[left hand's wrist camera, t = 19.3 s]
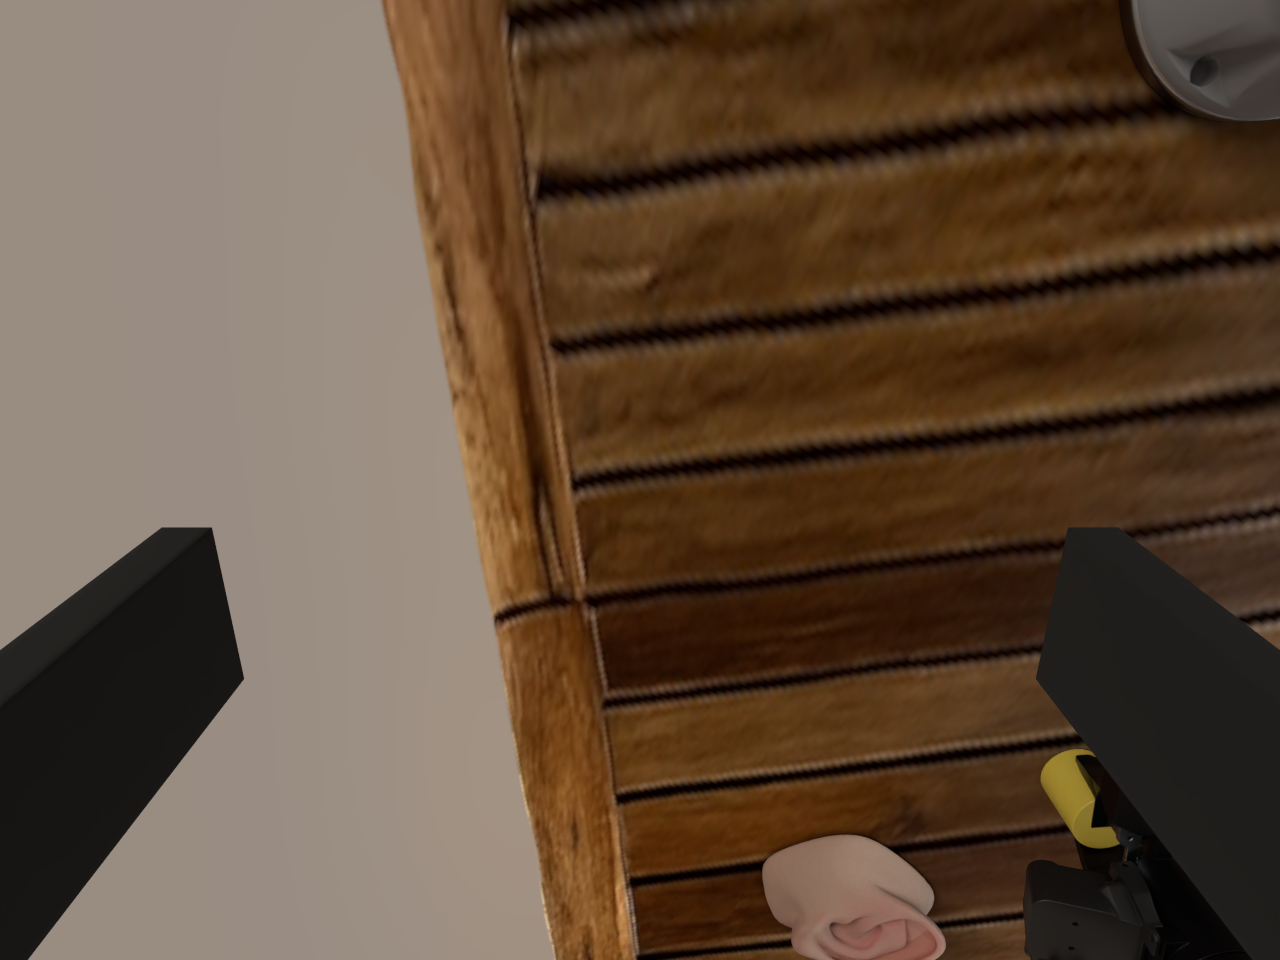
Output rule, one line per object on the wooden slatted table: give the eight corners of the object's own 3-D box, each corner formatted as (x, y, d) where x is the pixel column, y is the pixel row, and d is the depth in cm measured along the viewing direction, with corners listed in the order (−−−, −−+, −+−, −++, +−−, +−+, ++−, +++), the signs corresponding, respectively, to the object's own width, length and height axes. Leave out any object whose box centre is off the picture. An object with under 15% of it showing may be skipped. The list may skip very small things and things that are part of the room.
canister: (1051, 745, 58) (1085, 793, 54) (1112, 751, 59) (1151, 800, 54) (1032, 795, 60) (1063, 845, 56) (1091, 801, 60) (1127, 852, 56)
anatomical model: (740, 918, 59) (875, 845, 56) (734, 874, 63) (860, 803, 60) (838, 1017, 63) (968, 953, 60) (827, 970, 66) (949, 907, 64)
